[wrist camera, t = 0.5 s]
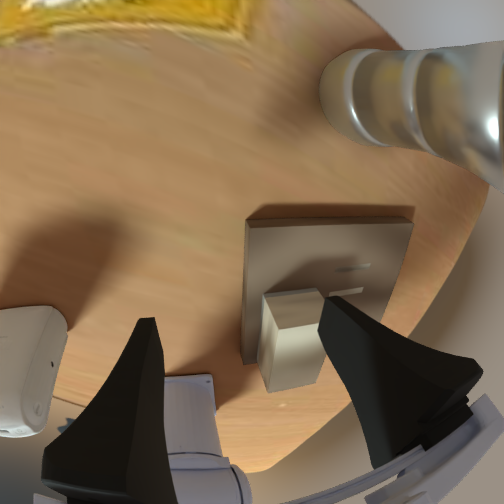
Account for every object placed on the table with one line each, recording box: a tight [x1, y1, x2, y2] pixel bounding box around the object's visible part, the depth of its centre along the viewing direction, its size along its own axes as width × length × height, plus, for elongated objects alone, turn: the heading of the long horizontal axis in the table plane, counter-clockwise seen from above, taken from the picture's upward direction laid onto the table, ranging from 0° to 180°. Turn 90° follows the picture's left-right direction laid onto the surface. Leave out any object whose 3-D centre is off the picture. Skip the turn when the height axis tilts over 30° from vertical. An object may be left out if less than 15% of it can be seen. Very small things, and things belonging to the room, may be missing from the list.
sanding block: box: [257, 288, 327, 393], centre depth 22 cm, size 8×4×4 cm, turn 177°
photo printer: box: [0, 306, 68, 437], centre depth 14 cm, size 10×4×12 cm, turn 92°
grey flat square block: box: [240, 217, 414, 365], centre depth 24 cm, size 14×15×2 cm
